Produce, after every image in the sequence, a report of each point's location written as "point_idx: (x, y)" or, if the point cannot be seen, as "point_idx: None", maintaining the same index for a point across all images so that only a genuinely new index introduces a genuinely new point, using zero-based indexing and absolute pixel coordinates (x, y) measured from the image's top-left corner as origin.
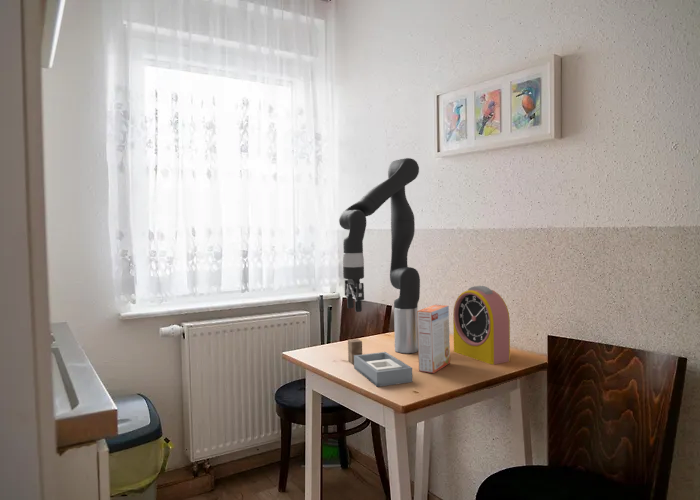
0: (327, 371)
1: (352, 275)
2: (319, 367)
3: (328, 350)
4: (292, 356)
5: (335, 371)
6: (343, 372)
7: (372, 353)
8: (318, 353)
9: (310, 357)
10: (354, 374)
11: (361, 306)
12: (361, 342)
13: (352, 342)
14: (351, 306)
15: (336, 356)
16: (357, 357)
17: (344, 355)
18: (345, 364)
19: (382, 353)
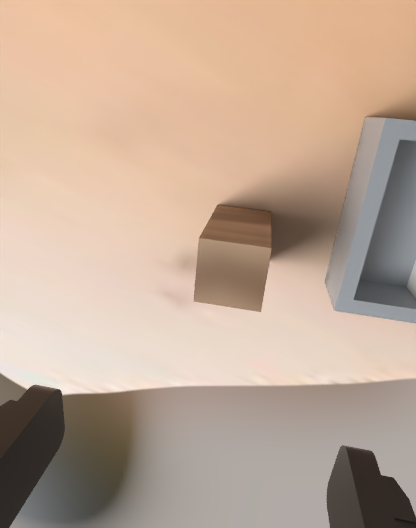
0: (298, 378)
1: None
2: (233, 378)
3: (7, 249)
4: None
5: (316, 357)
6: (348, 340)
7: (363, 209)
8: (42, 303)
9: (89, 349)
10: None
11: (394, 515)
12: (271, 249)
13: (261, 305)
14: (49, 421)
15: (114, 262)
16: (380, 314)
17: (113, 225)
18: None
19: (395, 150)
